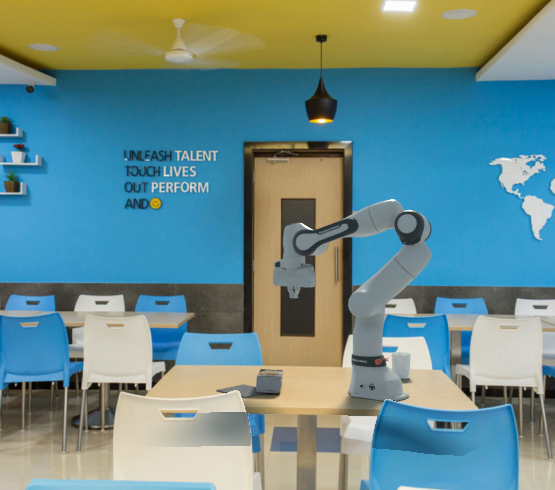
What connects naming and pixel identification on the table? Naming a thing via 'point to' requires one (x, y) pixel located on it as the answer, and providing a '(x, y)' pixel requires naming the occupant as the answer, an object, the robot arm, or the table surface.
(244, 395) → the rubber mat
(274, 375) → the coffee box
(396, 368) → the white cup
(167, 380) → the table surface
